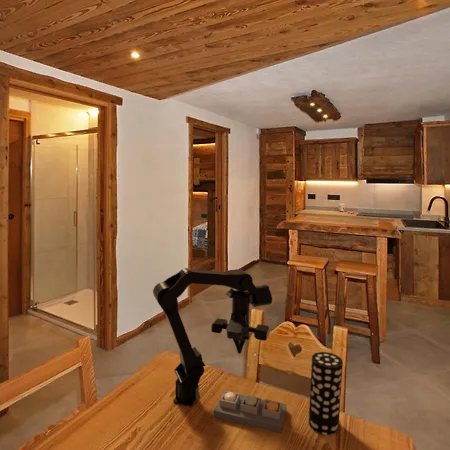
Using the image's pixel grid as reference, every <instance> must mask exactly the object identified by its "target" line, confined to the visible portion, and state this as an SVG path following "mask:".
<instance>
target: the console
mask: <svg viewBox="0 0 450 450" xmlns="http://www.w3.org/2000/svg"><path fill="white" fill-rule="evenodd" d="M228 392H232V393H234V394H235V395H236V400H235V402H232V401H227V400H224V395H225V394H226V393H228ZM247 395H248V394H241V393H239V392H234V391H229V390H224V391H223V392H222V394H221V396H220V398H219V399H218V401H217V404H216V405H215V407H214V409H213V418H217V419H221V420H225V421H229V422H232V423H233V422H234V423H237V424H238V423H239V424H242V425H246V426H250V427H254V428H259V429H262V430H267V431H270V432H275V433H279V434H282V431H283V428H284V427H283V426H284V424H285V423H284V422H285V418H286V412H287V404H286V403H283V402H280V401H276V400H272V399H267V398H266V399H263V398H261V397H257V396H256V398H257V402H256V407H254V406H249V405H245V397H246V396H247ZM269 401H274V402H276V403H277V404H278V412H276V411H272V410H267V409H266V407H267V402H269Z"/></svg>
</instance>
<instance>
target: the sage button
mask: <svg viewBox="0 0 450 450" xmlns="http://www.w3.org/2000/svg"><path fill="white" fill-rule="evenodd" d="M246 395H247V396H246V397H245V405H249V406H254V407H256V402H257V398H256V397H257V396H256V395H253V394H246Z"/></svg>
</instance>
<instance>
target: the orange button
mask: <svg viewBox="0 0 450 450" xmlns="http://www.w3.org/2000/svg"><path fill="white" fill-rule="evenodd" d="M274 401H275V400H272V401H269V402H267V407H266V409H267V410H272V411H276V412H278V404H277V403H276V402H274Z"/></svg>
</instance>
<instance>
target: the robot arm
mask: <svg viewBox="0 0 450 450" xmlns="http://www.w3.org/2000/svg"><path fill="white" fill-rule="evenodd" d="M253 281H254V279H253V277H252V275H251V274H249V273H248V272H246V271H245V270H242V269H241V268H237V269H229V270H226V271H216V270H215V271H214V270H202V269H190V268H188V267H187V268H183V269H181V270H179V271H178V272H177V273H175V274H173V275H171V276H169V277H168V278H166V279H165V280H163V281H162V282H158V283H156V285H155V286H154V287H153V289H152V294H153V297H154V298H155V300H156V302H157V303H158V305H159V307H160V308H161V310H162V311H163V313H164V315H165V317H166V319H167V322H168V324H169V326H170V329H171V332H172V334H173V337H174V340H175V343H176V345H177V347H178V349H179V360H180V363H179V364H178V365H177V366H176V368H175V369H174V373H175V376H176V377H177V379H176V380H175V383H174V384H175V397H174V399H173V400H172V402H173V403H175V404H179V405H183V406H187V407H193V406H194V404H195V403H196V401H197V400H198V399H199V398H200V397H199V396H200V393H199V391H200V386H199V382H200V379H201V377H202V376H203V375H204V373H205V368H204V367H206V364H205V362H204V361H203V357H202V354H201V352H200V351H199V349H198V348H197V346H194V347H193V346H192V344H191V342H190V338H189V336H188V334H187V330H186V328H185V326H184V323H183V320H182V318H181V315H180V313H179V302H178V298H179V297H181V296H182V294H183V293H184V292H185V291H186V289H187V288H189V286H190V285H192V284H193V285H194V284H195V285H212V286H225V287H228V288H230V289H229V290H228V291H227V292H226V293H225V295H226V296H227V297H228V298H230V299H231V313H230V319H229V322H228V319H223V318H216V319H215V320H214V321H213V323H211V325H210V327H211V328H210V330H211V333H214V334H221V333H222V332H223V330H226V338H227V339H229V340H231V339H232V341H233V343H234V345H235V348H236V351H237V354H239V355H241V354H242V352H243V350H244V346H245V344H246V341H247V340H250V339H251V336H254V338H255V340H259V341H267V340H268V337H269V335H270V331H271V330H270V329H271V328H270V327H269V325H267V324H266V325H265V324H260V323H259V324H257V325H256V327H253V326H252V325H251V326H250V312H251V309H250V305H251V306H252V307H253V308H258V307H265V306H271V304H272V303H273V296H272V292H271V290H270V286H269V285H267V284H263V285H255V284H254V282H253Z"/></svg>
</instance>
